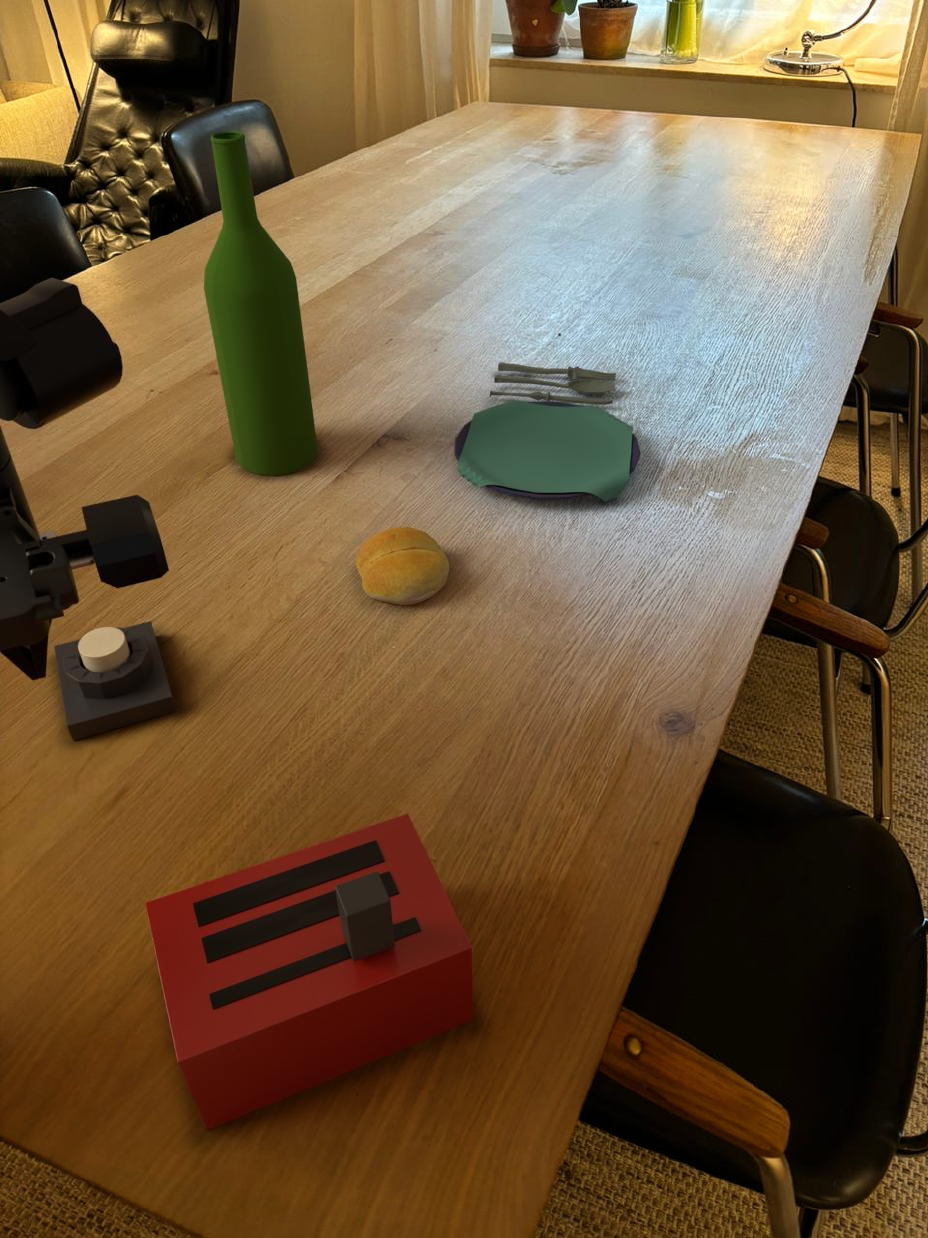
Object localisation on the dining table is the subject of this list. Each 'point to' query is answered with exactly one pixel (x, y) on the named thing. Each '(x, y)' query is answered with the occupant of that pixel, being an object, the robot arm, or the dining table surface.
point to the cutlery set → (549, 441)
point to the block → (114, 686)
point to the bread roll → (402, 566)
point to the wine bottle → (257, 328)
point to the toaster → (305, 970)
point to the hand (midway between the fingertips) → (39, 675)
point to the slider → (365, 916)
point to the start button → (104, 649)
